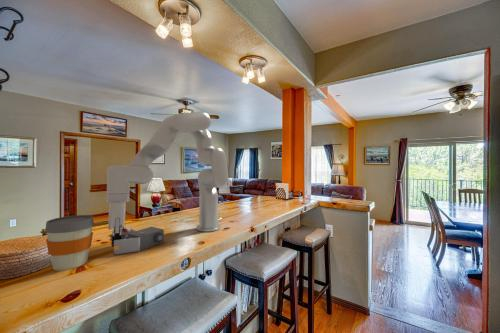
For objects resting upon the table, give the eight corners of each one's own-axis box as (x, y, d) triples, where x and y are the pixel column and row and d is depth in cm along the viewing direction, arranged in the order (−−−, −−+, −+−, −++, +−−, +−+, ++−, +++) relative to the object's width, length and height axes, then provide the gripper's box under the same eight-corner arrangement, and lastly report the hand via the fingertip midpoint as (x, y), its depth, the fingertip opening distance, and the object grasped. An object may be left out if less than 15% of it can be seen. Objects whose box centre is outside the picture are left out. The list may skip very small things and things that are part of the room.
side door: (114, 253, 81) (114, 239, 81) (140, 250, 85) (140, 237, 85) (113, 255, 80) (113, 241, 80) (139, 251, 83) (140, 238, 83)
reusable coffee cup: (84, 270, 69) (84, 222, 69) (35, 275, 65) (35, 225, 65) (99, 254, 81) (99, 214, 81) (58, 258, 77) (58, 216, 77)
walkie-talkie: (107, 236, 102) (124, 246, 90) (107, 226, 102) (124, 235, 90) (127, 231, 109) (145, 241, 96) (127, 223, 109) (145, 231, 96)
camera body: (151, 238, 98) (151, 225, 98) (166, 242, 94) (166, 228, 93) (127, 247, 88) (127, 232, 88) (142, 251, 84) (142, 235, 84)
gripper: (107, 195, 88) (105, 241, 87) (105, 200, 75) (103, 254, 75) (128, 194, 92) (127, 238, 91) (130, 199, 79) (128, 250, 79)
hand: (116, 245), depth 83 cm, fingers closed
